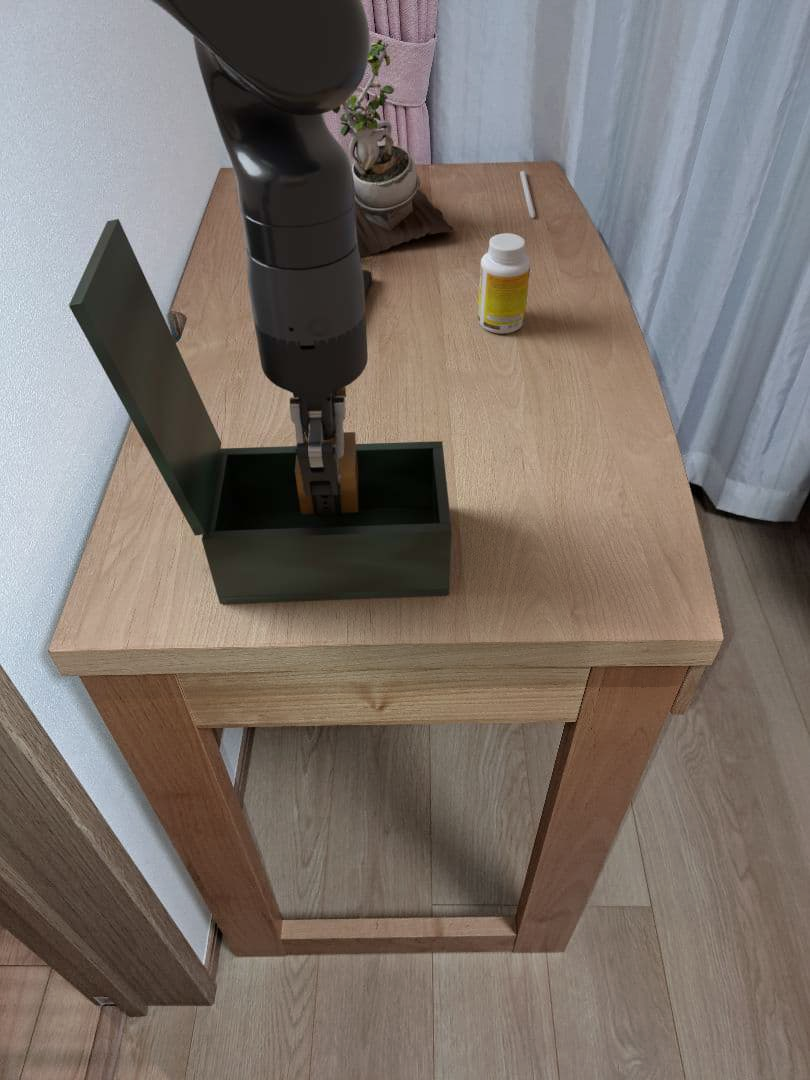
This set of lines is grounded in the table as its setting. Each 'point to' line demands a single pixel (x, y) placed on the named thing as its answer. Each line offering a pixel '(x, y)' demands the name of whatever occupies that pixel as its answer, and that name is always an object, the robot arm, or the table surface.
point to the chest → (330, 528)
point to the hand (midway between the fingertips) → (329, 491)
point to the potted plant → (384, 175)
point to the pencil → (527, 194)
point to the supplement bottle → (503, 284)
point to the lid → (148, 372)
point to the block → (348, 482)
